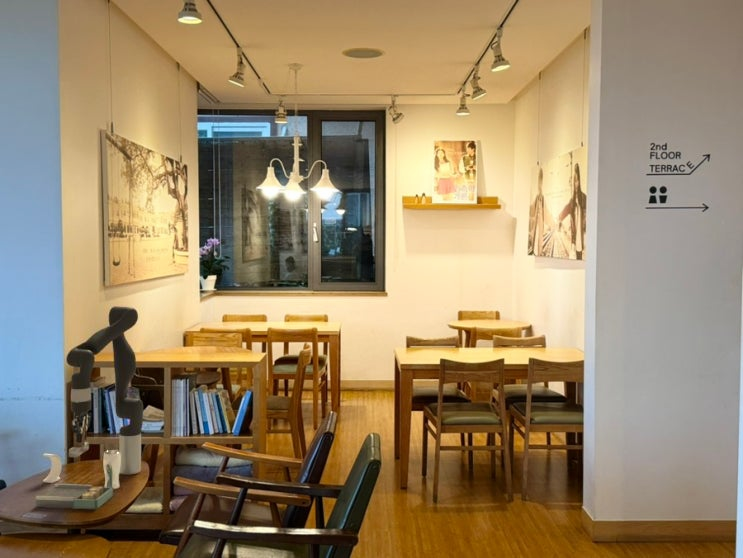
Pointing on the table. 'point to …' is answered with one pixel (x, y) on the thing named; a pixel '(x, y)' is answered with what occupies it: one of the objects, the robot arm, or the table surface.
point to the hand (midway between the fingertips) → (81, 440)
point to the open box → (62, 496)
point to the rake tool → (79, 445)
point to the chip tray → (94, 503)
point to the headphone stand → (54, 468)
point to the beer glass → (112, 468)
